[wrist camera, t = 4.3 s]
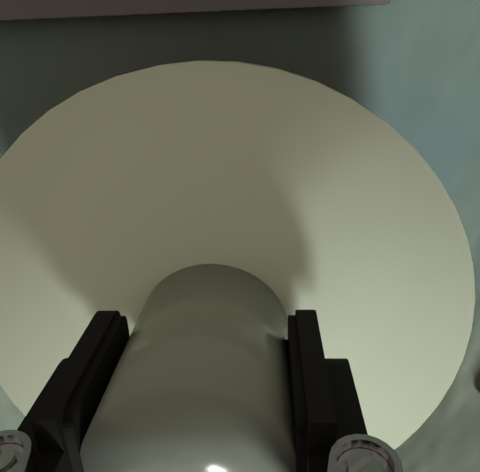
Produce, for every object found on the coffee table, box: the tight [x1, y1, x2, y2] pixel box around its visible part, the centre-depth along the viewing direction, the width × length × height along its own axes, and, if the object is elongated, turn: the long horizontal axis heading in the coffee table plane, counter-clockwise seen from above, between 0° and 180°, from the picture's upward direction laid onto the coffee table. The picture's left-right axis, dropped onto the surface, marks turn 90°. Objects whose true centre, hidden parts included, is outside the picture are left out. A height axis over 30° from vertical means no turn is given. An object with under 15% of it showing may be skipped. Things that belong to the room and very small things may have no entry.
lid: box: [0, 60, 475, 472], centre depth 12 cm, size 15×15×6 cm
